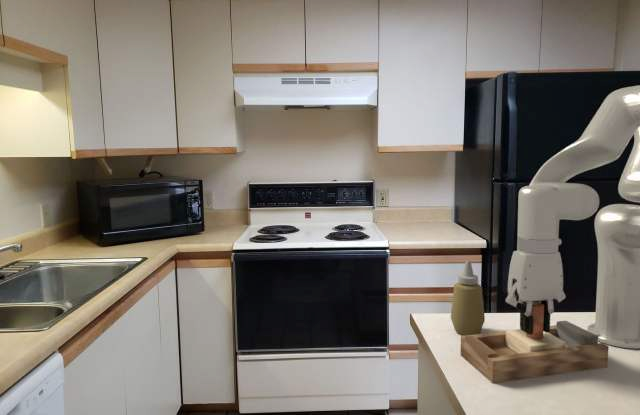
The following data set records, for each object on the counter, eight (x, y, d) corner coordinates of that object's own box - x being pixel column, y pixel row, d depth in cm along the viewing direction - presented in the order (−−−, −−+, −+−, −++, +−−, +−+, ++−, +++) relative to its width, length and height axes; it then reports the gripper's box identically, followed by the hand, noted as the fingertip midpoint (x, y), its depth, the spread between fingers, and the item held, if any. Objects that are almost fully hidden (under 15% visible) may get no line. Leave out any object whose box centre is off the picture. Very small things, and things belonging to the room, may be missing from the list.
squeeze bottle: (487, 339, 101) (488, 265, 99) (452, 337, 103) (452, 265, 101) (481, 326, 109) (482, 257, 107) (449, 324, 111) (449, 257, 109)
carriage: (537, 340, 95) (539, 296, 94) (564, 357, 87) (566, 308, 86) (505, 344, 93) (506, 299, 92) (530, 361, 85) (531, 312, 84)
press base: (563, 342, 98) (564, 317, 98) (607, 366, 87) (608, 338, 86) (460, 355, 94) (460, 329, 93) (492, 383, 82) (493, 353, 81)
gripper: (558, 239, 93) (555, 320, 95) (490, 244, 90) (489, 328, 92) (586, 246, 85) (582, 334, 87) (512, 252, 82) (510, 342, 84)
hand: (534, 330), depth 90 cm, fingers closed on carriage, 3 cm apart
